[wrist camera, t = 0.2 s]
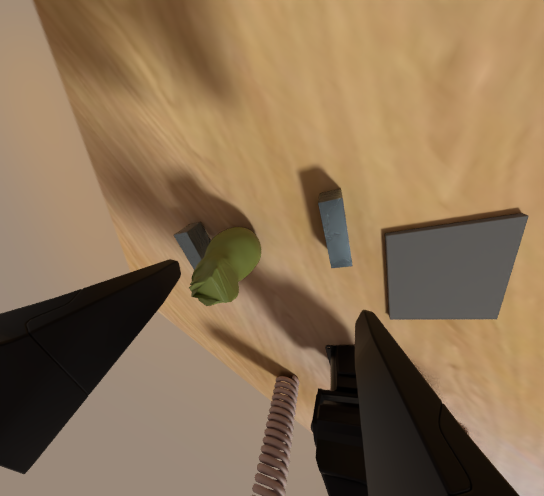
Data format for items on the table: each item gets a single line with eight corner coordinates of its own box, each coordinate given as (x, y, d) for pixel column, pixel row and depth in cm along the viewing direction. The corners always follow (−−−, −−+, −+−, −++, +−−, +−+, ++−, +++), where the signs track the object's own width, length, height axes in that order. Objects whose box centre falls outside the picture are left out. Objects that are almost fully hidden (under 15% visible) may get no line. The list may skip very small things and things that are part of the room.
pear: (219, 224, 24) (161, 273, 16) (256, 214, 22) (213, 265, 14) (237, 260, 26) (195, 320, 18) (272, 255, 24) (243, 319, 16)
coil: (290, 386, 41) (268, 532, 26) (272, 375, 40) (239, 518, 25) (304, 380, 38) (287, 539, 23) (285, 368, 38) (256, 523, 23)
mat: (493, 314, 21) (496, 319, 21) (388, 315, 25) (390, 319, 24) (522, 213, 16) (528, 215, 15) (384, 233, 20) (386, 235, 19)
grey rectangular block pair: (349, 250, 21) (352, 266, 19) (211, 267, 28) (200, 280, 26) (340, 188, 18) (342, 197, 16) (188, 224, 25) (173, 235, 23)
